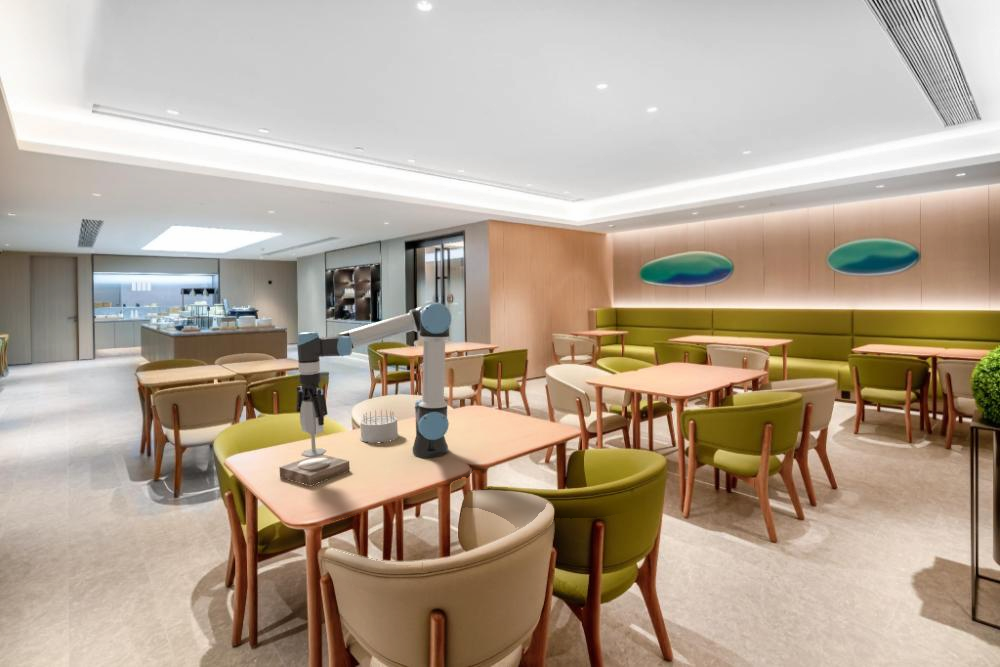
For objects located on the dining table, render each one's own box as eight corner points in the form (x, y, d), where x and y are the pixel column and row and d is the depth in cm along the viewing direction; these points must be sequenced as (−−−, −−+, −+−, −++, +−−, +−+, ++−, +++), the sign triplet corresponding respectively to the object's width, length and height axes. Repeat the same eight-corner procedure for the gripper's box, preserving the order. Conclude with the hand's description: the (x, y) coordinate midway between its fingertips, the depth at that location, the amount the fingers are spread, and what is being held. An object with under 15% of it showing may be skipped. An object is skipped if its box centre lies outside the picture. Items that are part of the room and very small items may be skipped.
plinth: (349, 470, 197) (349, 459, 197) (310, 486, 182) (309, 474, 181) (319, 463, 207) (319, 452, 206) (280, 477, 192) (279, 466, 191)
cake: (374, 431, 253) (373, 405, 251) (405, 434, 247) (404, 407, 245) (352, 441, 236) (350, 413, 235) (385, 444, 230) (384, 416, 229)
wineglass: (330, 451, 196) (328, 398, 194) (315, 458, 188) (312, 403, 186) (312, 449, 199) (309, 397, 197) (296, 456, 191) (293, 402, 189)
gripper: (335, 373, 188) (338, 433, 190) (301, 369, 200) (304, 426, 201) (319, 376, 182) (322, 438, 184) (284, 372, 193) (287, 430, 195)
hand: (312, 431), depth 193 cm, fingers closed on wineglass, 8 cm apart
